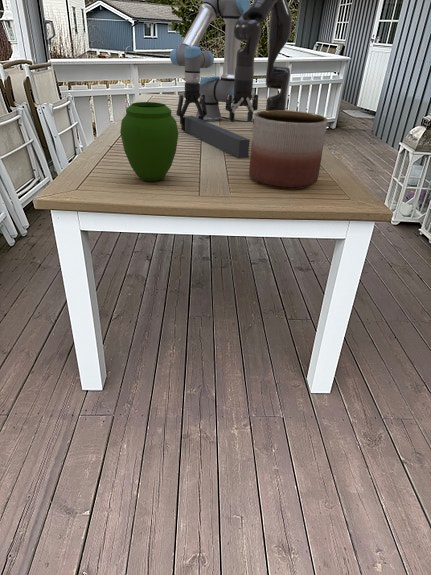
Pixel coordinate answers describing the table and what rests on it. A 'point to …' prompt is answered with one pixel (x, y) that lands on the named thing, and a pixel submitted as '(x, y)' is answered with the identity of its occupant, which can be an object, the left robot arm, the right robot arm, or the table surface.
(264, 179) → the planter
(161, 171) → the vase
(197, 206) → the table surface
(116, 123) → the table surface
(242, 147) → the beam
